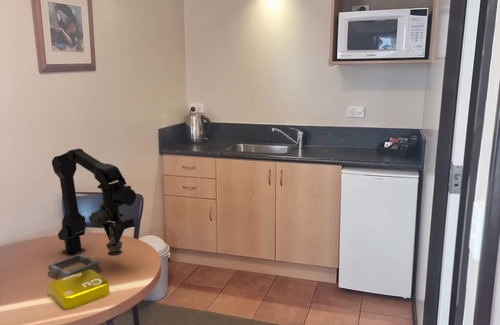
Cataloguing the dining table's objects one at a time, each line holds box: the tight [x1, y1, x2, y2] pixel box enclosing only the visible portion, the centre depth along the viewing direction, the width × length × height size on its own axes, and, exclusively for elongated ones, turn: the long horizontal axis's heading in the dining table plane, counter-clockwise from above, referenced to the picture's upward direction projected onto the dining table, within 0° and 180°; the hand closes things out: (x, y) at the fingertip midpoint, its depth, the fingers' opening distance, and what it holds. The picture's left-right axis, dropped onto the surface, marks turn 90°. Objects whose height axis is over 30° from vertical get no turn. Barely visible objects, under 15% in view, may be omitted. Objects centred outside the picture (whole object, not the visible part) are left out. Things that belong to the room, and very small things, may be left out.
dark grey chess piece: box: [105, 222, 123, 257], centre depth 163 cm, size 6×6×12 cm
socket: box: [47, 253, 102, 280], centre depth 159 cm, size 13×13×4 cm
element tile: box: [48, 270, 110, 310], centre depth 145 cm, size 15×15×5 cm
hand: (114, 241), depth 164 cm, fingers closed on dark grey chess piece, 3 cm apart
